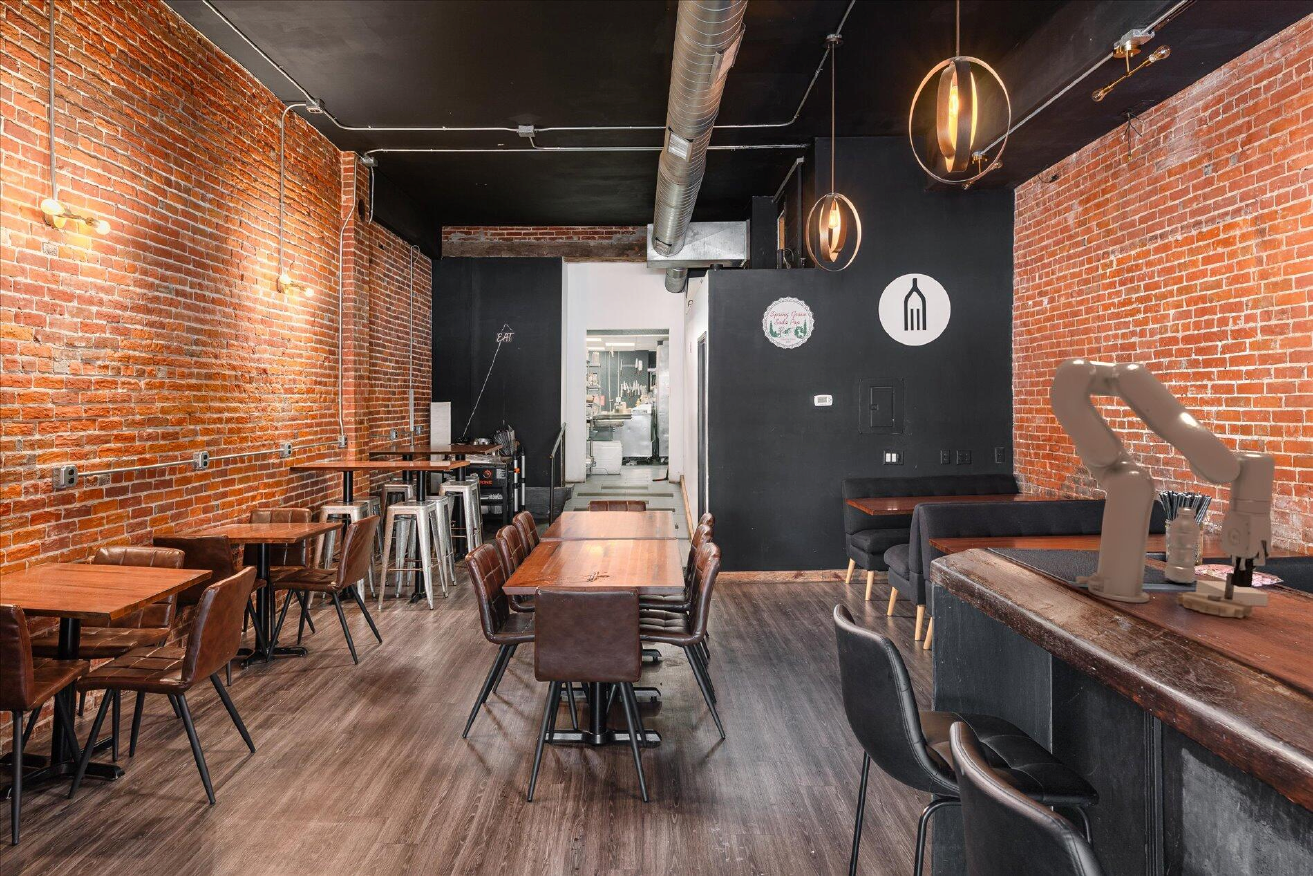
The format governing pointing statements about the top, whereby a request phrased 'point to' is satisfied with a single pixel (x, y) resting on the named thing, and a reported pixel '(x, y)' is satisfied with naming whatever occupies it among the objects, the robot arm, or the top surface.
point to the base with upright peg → (1216, 602)
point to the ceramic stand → (1240, 593)
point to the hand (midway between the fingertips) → (1241, 586)
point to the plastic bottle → (1183, 546)
